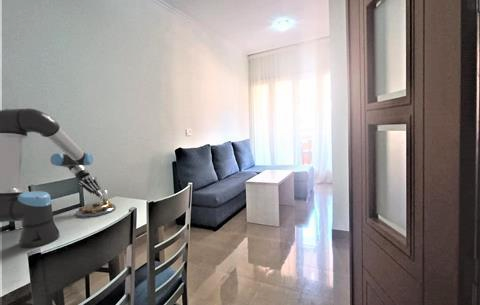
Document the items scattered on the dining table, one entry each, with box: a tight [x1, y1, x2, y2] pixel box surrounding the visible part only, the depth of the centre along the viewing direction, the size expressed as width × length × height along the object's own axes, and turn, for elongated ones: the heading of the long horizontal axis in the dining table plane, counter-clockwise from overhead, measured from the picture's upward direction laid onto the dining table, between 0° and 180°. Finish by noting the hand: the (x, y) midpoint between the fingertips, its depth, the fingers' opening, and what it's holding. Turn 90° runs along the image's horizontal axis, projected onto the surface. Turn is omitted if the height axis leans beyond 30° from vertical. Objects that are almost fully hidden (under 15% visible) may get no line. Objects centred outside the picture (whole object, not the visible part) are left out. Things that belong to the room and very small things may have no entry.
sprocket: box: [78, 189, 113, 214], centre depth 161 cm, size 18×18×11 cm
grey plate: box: [75, 203, 117, 219], centre depth 162 cm, size 22×22×2 cm
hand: (103, 198), depth 165 cm, fingers closed
